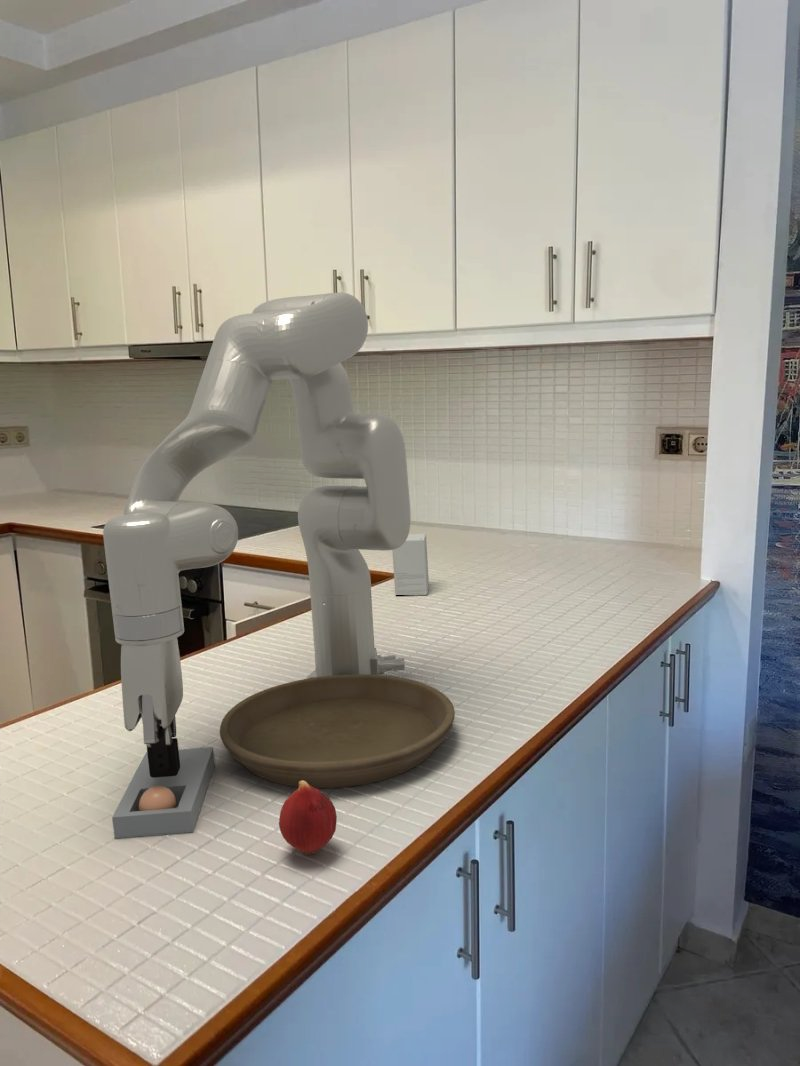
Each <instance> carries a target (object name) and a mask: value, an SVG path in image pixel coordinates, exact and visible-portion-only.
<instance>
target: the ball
mask: <svg viewBox="0 0 800 1066" xmlns="http://www.w3.org/2000/svg"><path fill="white" fill-rule="evenodd" d="M172 808H177V806H176V799H175V796H174V794H173V792H172V791H171V790H170V789H168V788H167V787H164V786H154V787H151V788H149V789H148V790H146V791H145V792H144V793H143V795H142V796H141V798H140V801H139V811H147V810H160V809H172Z"/></svg>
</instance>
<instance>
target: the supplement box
mask: <svg viewBox="0 0 800 1066" xmlns="http://www.w3.org/2000/svg"><path fill="white" fill-rule="evenodd" d="M427 542H428V541H427V533H416V534H415V533H413V534H412V533H411V534H410V533H409V534H408V537H407V539H406V541H405V542H404V544H403V545H402V546H400V547H399V548H397V549H394V550H391V551H392V552H391V553H392V565H393V578H394V579H393V581H394V591H395V592H394V593H395V594H394V595H395V596H396V595H414V596H428V594H429V590H430V582H429V581H430V580H429V565H428V563H429V562H428V545H427V544H428V543H427ZM428 589H429V590H428Z"/></svg>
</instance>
